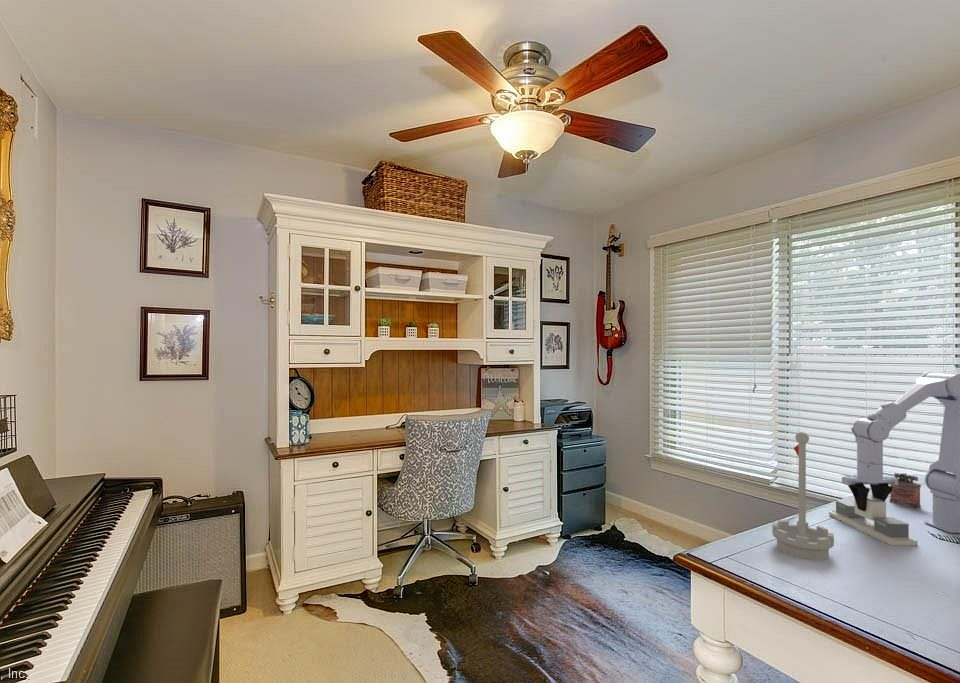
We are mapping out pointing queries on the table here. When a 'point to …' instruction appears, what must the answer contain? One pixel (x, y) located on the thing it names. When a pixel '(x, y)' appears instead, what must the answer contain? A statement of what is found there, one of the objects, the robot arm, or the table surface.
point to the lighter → (906, 491)
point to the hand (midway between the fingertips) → (869, 510)
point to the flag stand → (802, 521)
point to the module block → (872, 508)
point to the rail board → (874, 525)
